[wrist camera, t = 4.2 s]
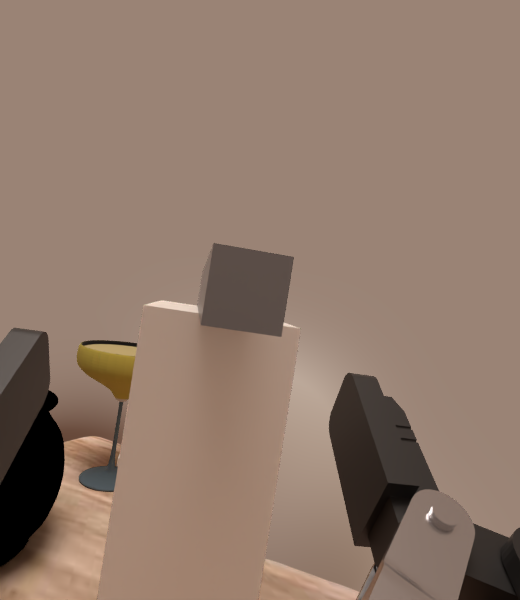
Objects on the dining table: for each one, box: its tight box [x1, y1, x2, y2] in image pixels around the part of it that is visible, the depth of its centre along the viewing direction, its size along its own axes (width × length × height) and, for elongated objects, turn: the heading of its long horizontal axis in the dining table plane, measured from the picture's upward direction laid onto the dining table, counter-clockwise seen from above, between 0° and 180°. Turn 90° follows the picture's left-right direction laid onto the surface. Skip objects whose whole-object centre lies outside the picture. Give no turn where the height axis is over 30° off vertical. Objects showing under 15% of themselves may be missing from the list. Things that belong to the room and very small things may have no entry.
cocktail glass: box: [77, 340, 137, 492], centre depth 84 cm, size 18×18×25 cm
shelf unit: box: [97, 300, 301, 600], centre depth 42 cm, size 18×12×36 cm
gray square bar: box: [197, 243, 294, 337], centre depth 37 cm, size 30×4×4 cm, turn 8°
